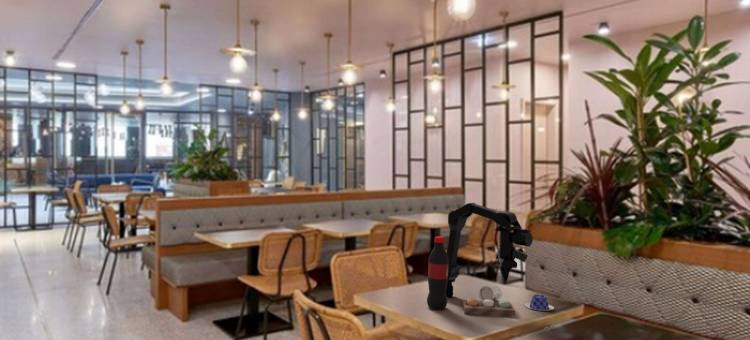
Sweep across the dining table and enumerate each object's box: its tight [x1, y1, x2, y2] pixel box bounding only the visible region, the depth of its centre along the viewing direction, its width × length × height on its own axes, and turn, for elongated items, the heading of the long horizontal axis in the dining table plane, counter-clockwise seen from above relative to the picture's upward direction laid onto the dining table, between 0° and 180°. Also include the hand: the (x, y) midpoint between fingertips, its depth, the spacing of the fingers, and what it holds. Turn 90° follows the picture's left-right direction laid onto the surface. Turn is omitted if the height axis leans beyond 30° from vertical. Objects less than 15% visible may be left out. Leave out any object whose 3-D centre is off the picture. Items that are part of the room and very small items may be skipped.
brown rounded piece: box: [466, 298, 479, 306], centre depth 221 cm, size 4×4×3 cm
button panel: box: [461, 299, 516, 318], centre depth 221 cm, size 20×12×2 cm, turn 85°
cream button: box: [482, 299, 495, 307], centre depth 220 cm, size 4×4×3 cm
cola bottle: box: [426, 235, 449, 311], centre depth 222 cm, size 8×8×30 cm
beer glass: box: [478, 284, 503, 301], centre depth 232 cm, size 7×7×15 cm
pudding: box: [524, 294, 555, 312], centre depth 228 cm, size 12×12×5 cm
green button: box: [498, 299, 511, 308], centre depth 220 cm, size 4×4×3 cm
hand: (504, 280), depth 220 cm, fingers closed
